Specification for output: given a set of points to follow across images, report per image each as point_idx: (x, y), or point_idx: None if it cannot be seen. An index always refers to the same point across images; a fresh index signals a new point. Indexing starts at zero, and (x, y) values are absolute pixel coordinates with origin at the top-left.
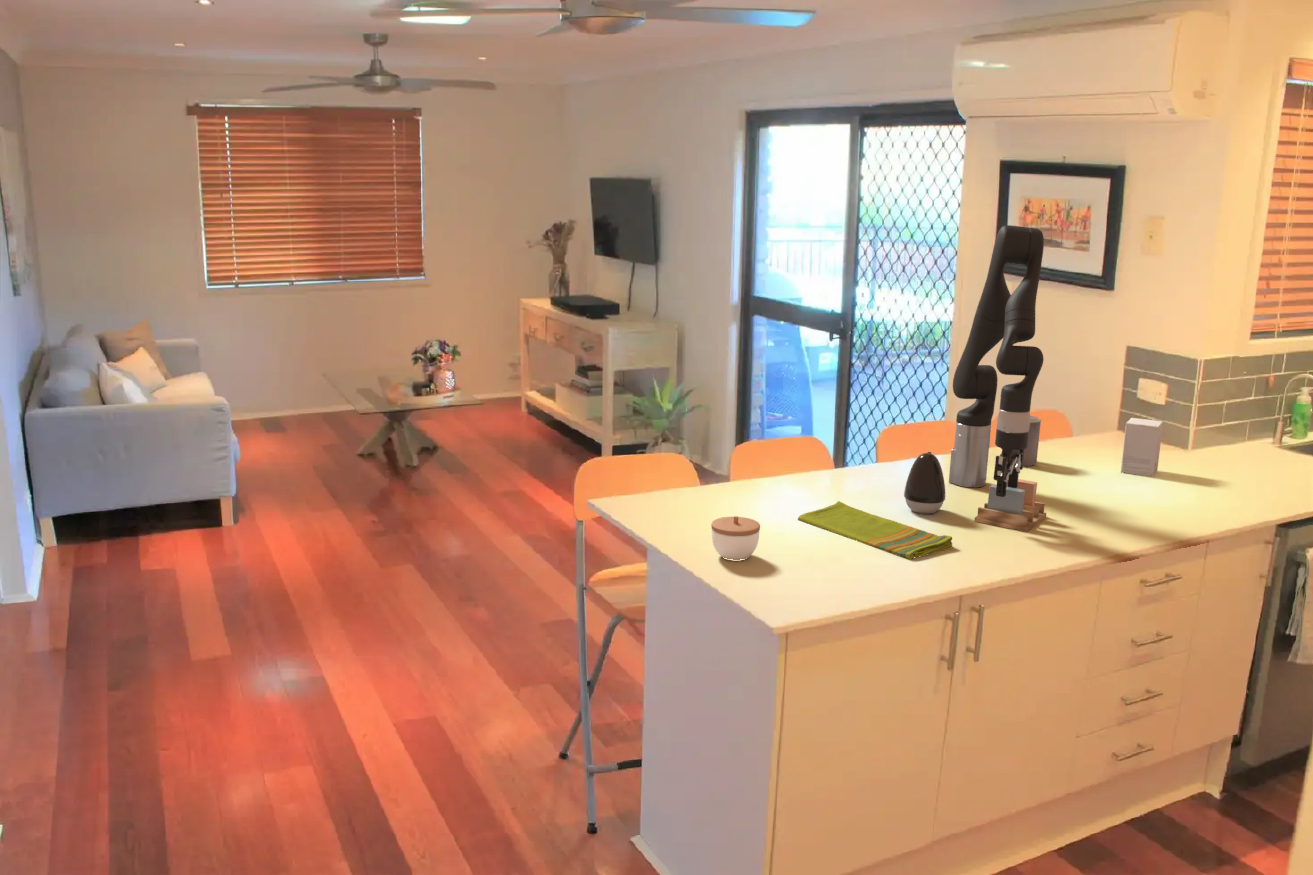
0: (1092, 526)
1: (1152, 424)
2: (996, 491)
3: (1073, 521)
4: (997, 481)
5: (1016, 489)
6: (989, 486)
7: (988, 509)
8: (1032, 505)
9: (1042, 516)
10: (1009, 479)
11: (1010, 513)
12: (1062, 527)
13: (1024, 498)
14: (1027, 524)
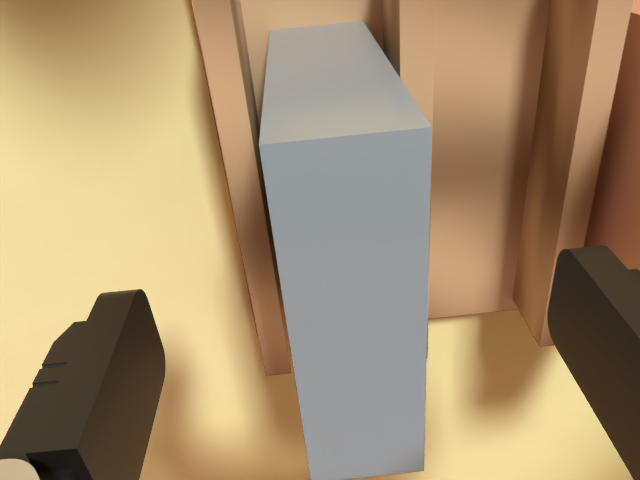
0: (580, 463)
1: None
2: (86, 326)
3: None
4: (29, 453)
5: (380, 420)
6: (263, 143)
7: (224, 85)
8: None
9: None
10: (617, 327)
11: (260, 272)
12: (480, 397)
13: (633, 267)
14: None
